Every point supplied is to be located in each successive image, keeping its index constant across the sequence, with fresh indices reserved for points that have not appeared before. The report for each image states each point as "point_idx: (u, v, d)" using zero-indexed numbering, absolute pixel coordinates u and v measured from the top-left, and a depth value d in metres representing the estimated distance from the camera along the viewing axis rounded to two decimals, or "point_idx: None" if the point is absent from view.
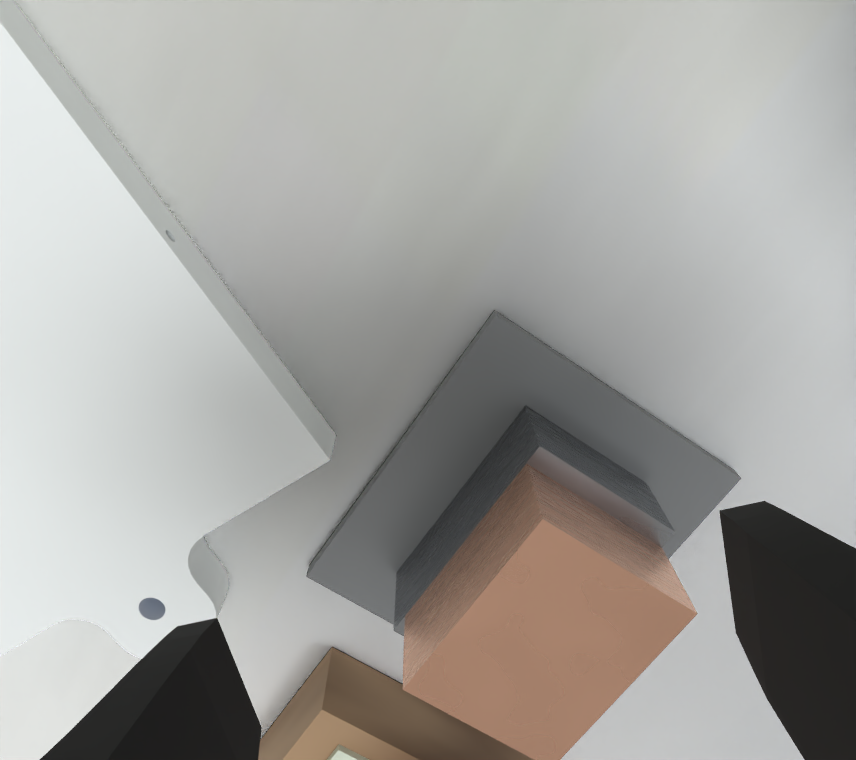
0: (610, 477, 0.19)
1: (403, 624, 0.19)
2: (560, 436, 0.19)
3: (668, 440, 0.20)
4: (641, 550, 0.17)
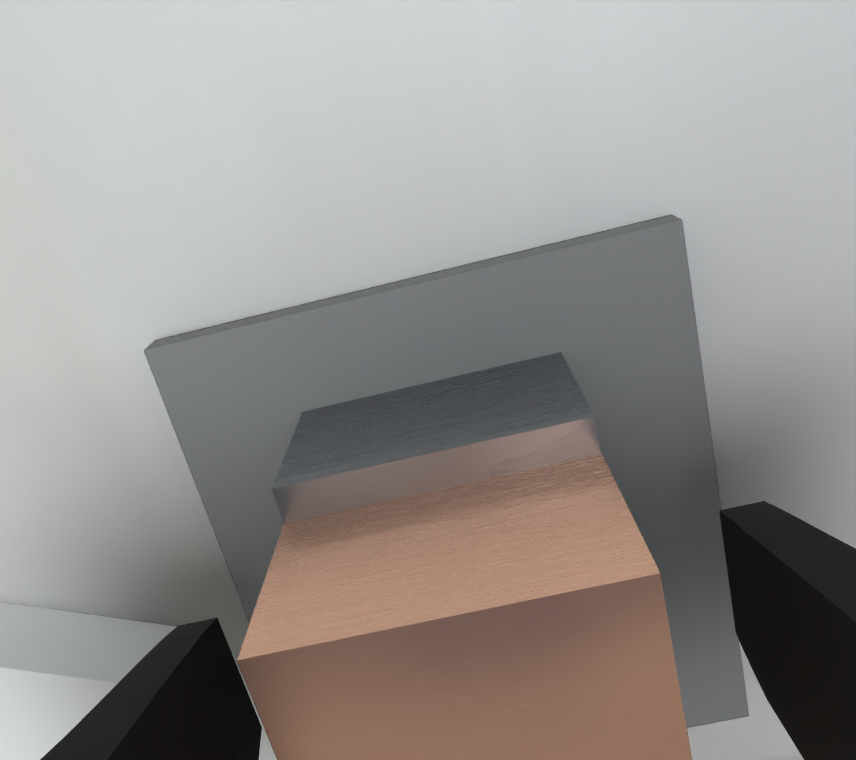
0: (454, 415, 0.10)
1: None
2: (358, 417, 0.11)
3: (523, 274, 0.11)
4: (532, 510, 0.09)
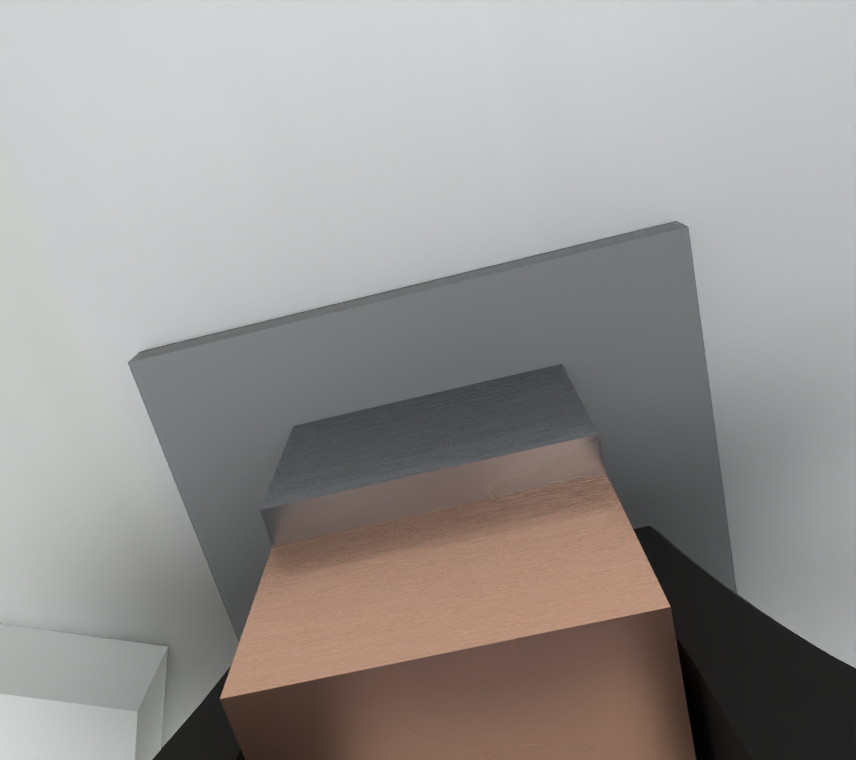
0: (451, 431, 0.10)
1: None
2: (351, 432, 0.11)
3: (523, 283, 0.11)
4: (533, 535, 0.08)
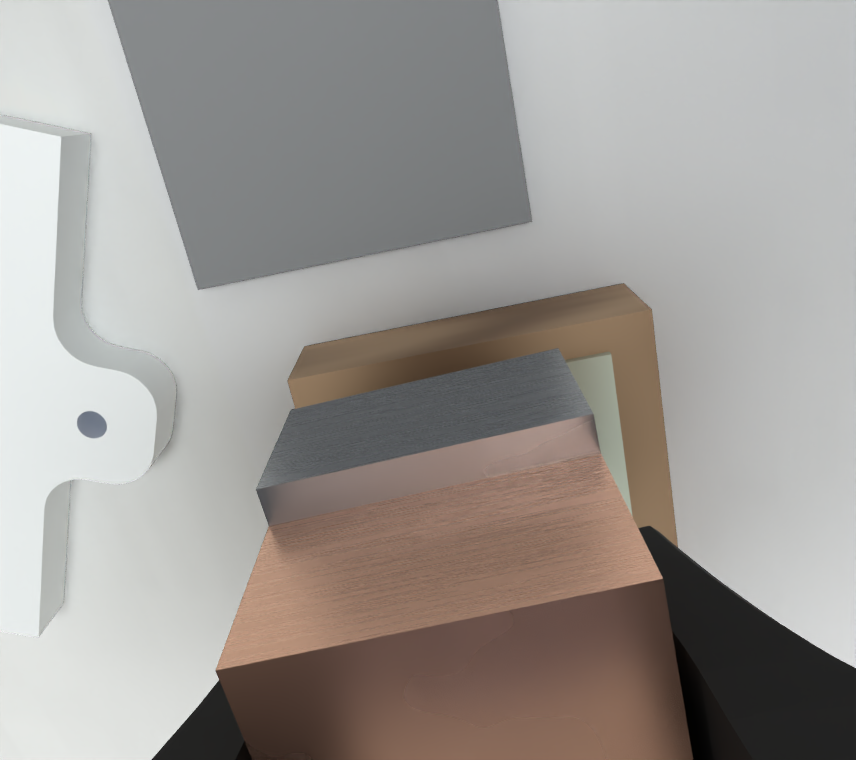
0: (447, 413, 0.10)
1: None
2: (348, 415, 0.11)
3: None
4: (528, 512, 0.08)
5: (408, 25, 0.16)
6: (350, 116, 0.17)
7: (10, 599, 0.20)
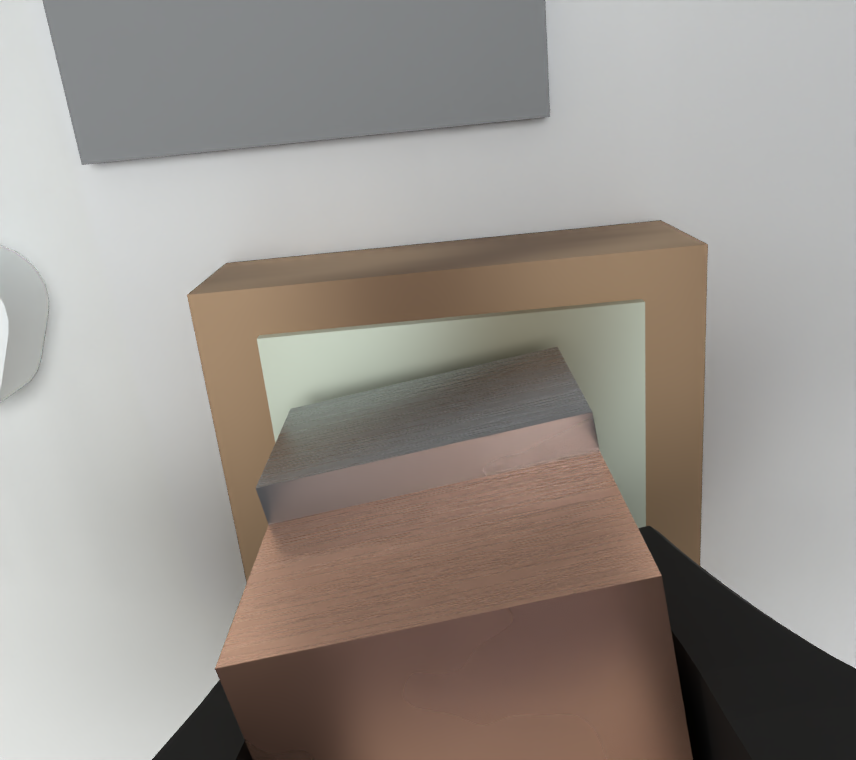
0: (446, 411, 0.10)
1: None
2: (347, 414, 0.11)
3: None
4: (526, 510, 0.08)
5: None
6: None
7: None
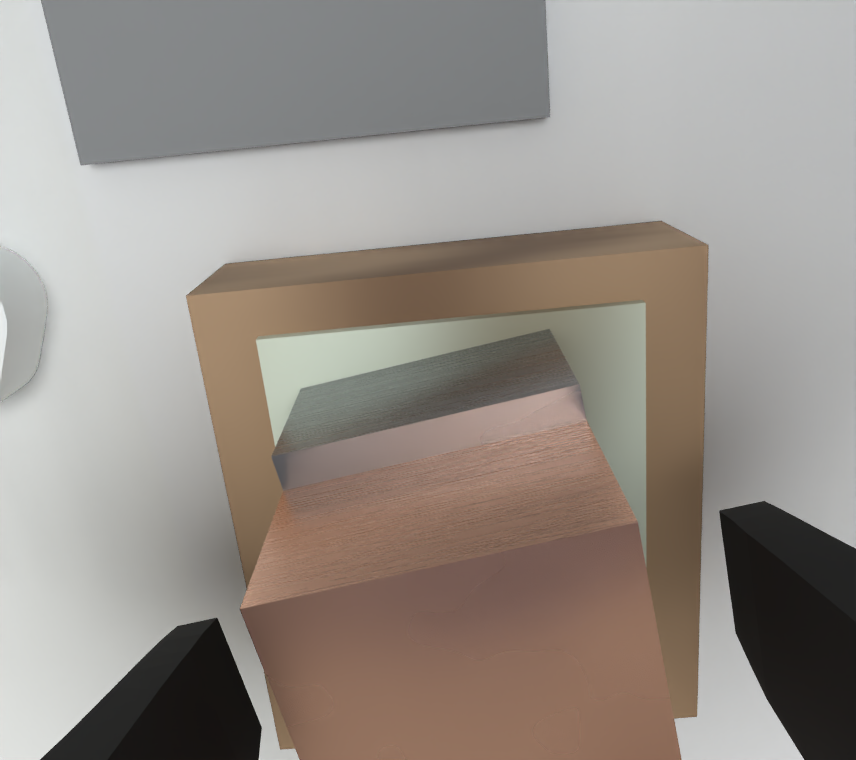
0: (446, 387, 0.11)
1: None
2: (354, 392, 0.11)
3: None
4: (520, 472, 0.09)
5: None
6: None
7: None
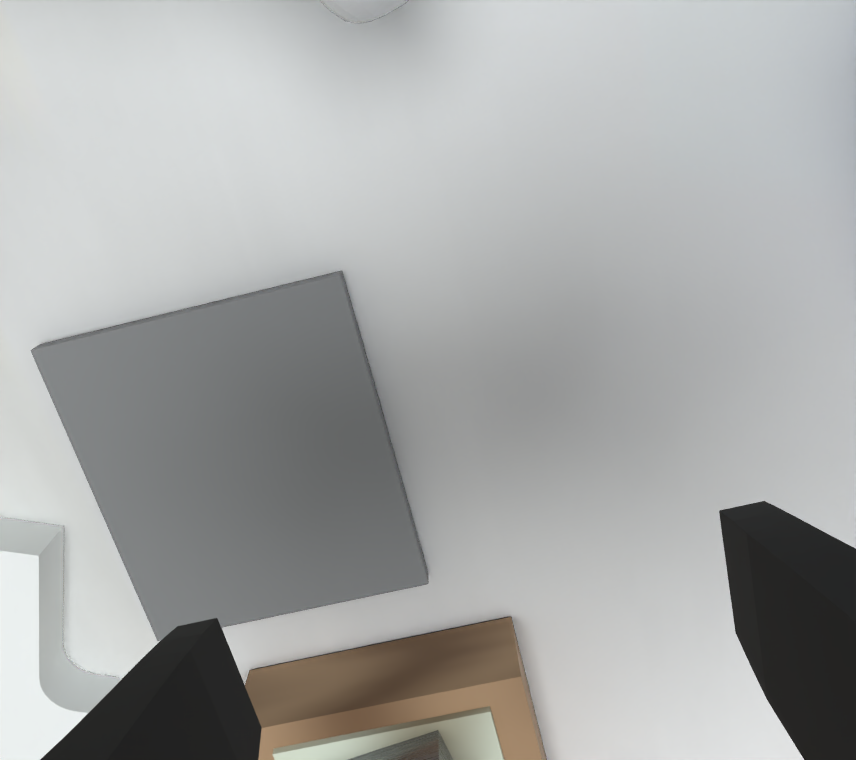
0: None
1: None
2: None
3: (251, 306, 0.19)
4: None
5: (315, 453, 0.20)
6: (273, 516, 0.21)
7: None
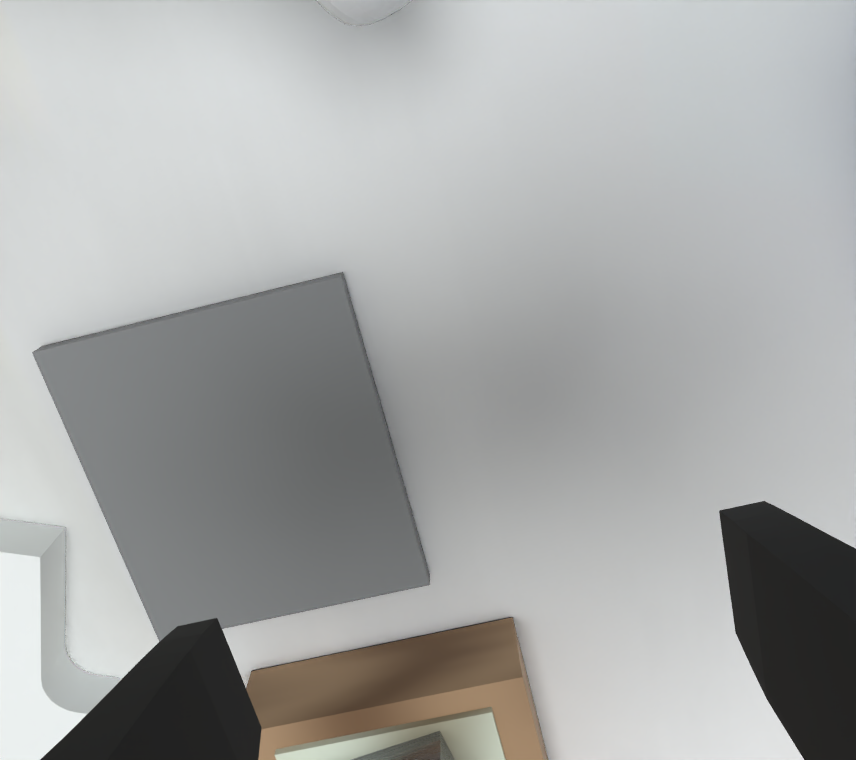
0: None
1: None
2: None
3: (252, 308, 0.19)
4: None
5: (316, 455, 0.20)
6: (274, 518, 0.21)
7: None
